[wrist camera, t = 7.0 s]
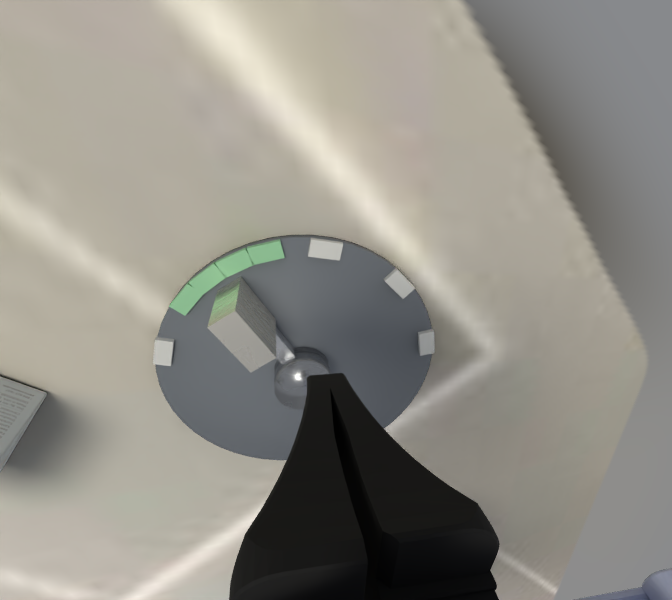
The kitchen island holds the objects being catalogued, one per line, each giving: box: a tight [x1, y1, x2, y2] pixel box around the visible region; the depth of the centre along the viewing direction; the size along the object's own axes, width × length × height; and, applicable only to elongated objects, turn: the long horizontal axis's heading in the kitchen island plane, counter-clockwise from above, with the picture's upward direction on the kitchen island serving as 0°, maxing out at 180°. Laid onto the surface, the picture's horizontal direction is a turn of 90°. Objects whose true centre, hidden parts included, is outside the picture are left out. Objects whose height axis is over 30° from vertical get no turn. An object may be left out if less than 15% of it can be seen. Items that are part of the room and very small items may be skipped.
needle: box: [207, 277, 331, 410], centre depth 21 cm, size 9×4×4 cm, turn 30°
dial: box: [153, 235, 435, 460], centre depth 25 cm, size 18×18×1 cm
